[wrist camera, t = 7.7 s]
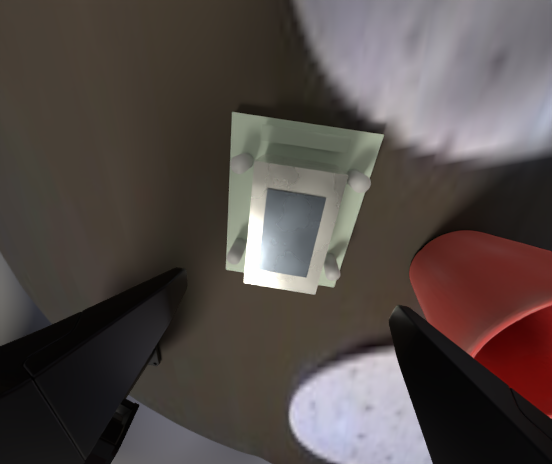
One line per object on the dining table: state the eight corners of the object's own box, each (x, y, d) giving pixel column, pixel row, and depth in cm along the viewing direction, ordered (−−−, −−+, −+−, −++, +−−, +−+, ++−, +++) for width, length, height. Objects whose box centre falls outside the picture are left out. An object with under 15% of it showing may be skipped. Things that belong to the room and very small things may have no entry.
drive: (311, 261, 20) (315, 295, 16) (254, 252, 20) (243, 283, 16) (335, 164, 16) (349, 175, 12) (264, 153, 16) (254, 160, 12)
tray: (332, 281, 22) (338, 305, 19) (228, 263, 22) (217, 285, 19) (379, 134, 16) (399, 135, 13) (235, 112, 16) (220, 108, 13)
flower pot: (550, 227, 18) (794, 320, 9) (470, 318, 23) (580, 436, 14) (429, 198, 18) (559, 263, 9) (374, 295, 22) (424, 400, 14)
